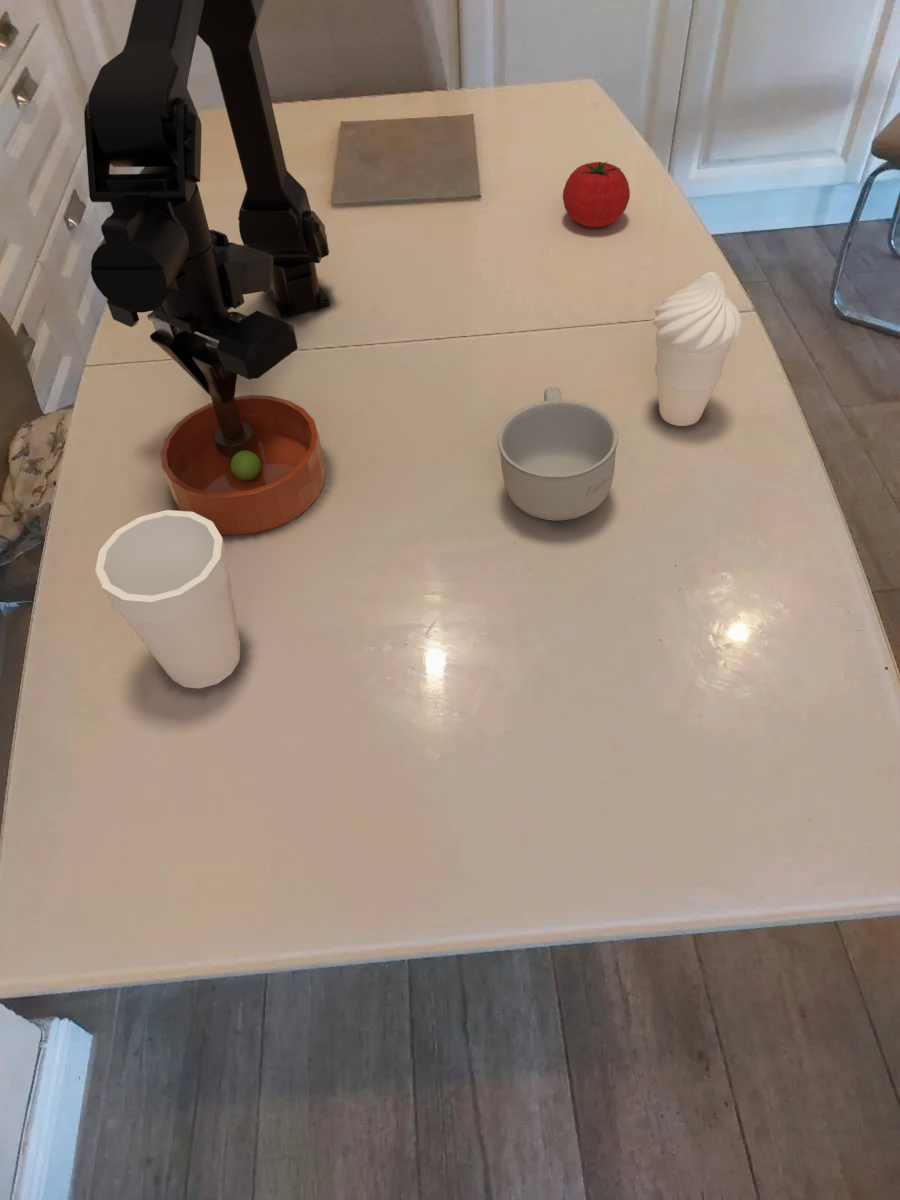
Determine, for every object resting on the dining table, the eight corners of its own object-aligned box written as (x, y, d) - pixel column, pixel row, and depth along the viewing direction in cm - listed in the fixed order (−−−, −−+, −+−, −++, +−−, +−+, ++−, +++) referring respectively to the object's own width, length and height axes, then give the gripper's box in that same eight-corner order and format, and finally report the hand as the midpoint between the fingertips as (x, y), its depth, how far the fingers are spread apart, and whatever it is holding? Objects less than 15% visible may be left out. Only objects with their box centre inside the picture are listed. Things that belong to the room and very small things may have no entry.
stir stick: (208, 448, 93) (182, 365, 85) (236, 427, 95) (212, 344, 87) (236, 462, 91) (212, 379, 84) (264, 440, 93) (242, 357, 86)
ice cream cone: (671, 449, 92) (696, 308, 80) (624, 405, 97) (640, 266, 85) (737, 422, 95) (771, 281, 82) (687, 380, 100) (713, 242, 87)
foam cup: (156, 620, 81) (107, 515, 71) (260, 610, 81) (226, 504, 71) (142, 709, 75) (86, 608, 65) (254, 698, 75) (216, 595, 65)
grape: (230, 472, 92) (223, 449, 90) (259, 463, 93) (253, 440, 91) (238, 490, 91) (232, 467, 88) (267, 481, 91) (261, 458, 89)
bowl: (159, 460, 95) (145, 422, 91) (298, 417, 99) (290, 378, 95) (195, 555, 86) (180, 517, 82) (346, 503, 89) (339, 464, 86)
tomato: (637, 214, 124) (644, 154, 118) (609, 243, 119) (614, 183, 113) (580, 200, 127) (583, 141, 121) (549, 228, 123) (552, 168, 116)
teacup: (605, 543, 84) (612, 478, 78) (489, 530, 86) (488, 466, 80) (617, 446, 93) (625, 381, 87) (513, 437, 95) (513, 372, 89)
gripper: (324, 232, 77) (348, 385, 89) (172, 181, 84) (213, 328, 96) (231, 293, 71) (271, 448, 83) (77, 233, 79) (133, 382, 91)
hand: (222, 397), depth 88 cm, fingers closed on stir stick
